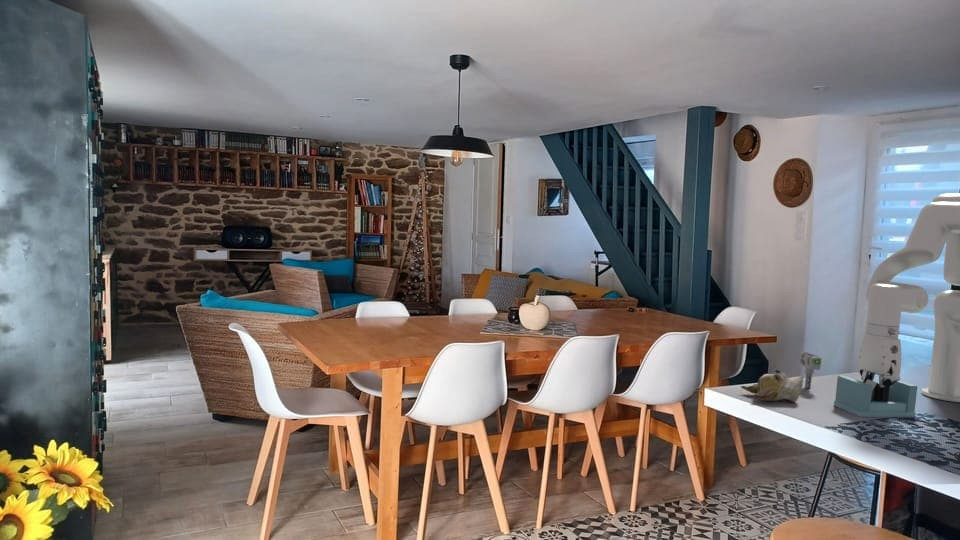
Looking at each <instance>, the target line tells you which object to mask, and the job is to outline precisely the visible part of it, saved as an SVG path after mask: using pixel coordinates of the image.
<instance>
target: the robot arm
mask: <svg viewBox="0 0 960 540" xmlns="http://www.w3.org/2000/svg"><path fill="white" fill-rule="evenodd" d="M944 247H945V250H944V262H943V278H944V280H945V282H946V283H947V284H949V285H952V286H958V287H960V193H959V192H957V193H956V192H955V193H943V194H940V195H937V196H935V197H934V198H933V199H932V201H931V202H930V203H927V204H926V205H924V206H923V207H922V209H921V210H920V212H919V213H918V216H917V219H916V220H915V223H914V225H913V227H912V230H911V231H910V234H909V236H908V238H907V240H906V243H905V245H904V246H903V247H902V248H901V249H899V250H897V251H895V252H894V253H892V254H891V255H889V256H888V257H887V258H885V259H884V260H883V261H881V263H880V264H879V265H877V267H876V268H875V269H874V271H873V273H872V275H871V278H870V280H869V283H868V284H867V288H866V291H865V300H866V301H867V311H866V314H867V315H866V320H865V322H866V323H865V331H864V334H863V337H862V340H861V344H860V350H859V355H858V362H857V363H856V365H855V367H856V369H857V371H859V375H860V377H861V378H860V379H861V382H864V383H865V382H866V381H867V379H868V380H871V381H874V379H875V376H878V384H879V386H880V387H877V392H876V401H877V402H888V397H889V388H891V387H892V385H893V384H894V383H895V382H897V381H899V380H901V376H900V375H901V369H902V344H901V339H900V338H899V335H900V326H901V325H900V324H901V315H902V313H908V314H909V313H910V314H916V313H920V312H921V311H923V310H925V308H926V307H927V305H928V303H929V295H928V293H927V291H926V289H924V288H923V287H921V286H920V285H917V284H909V283H902V282H895V281H894V282H893V281H892V280H893V279H894V278H895V277H896V276H898V275H899V274H901V273H902V272H905V271H907V270H911V269H914V268H918V267H922V266H925V265H928V264H933V263H935V262H936V261H938V260H939V258H940V257H941V255H942V252H943V249H944ZM933 312H934V313H933V314H934V333H933V334H934V336H933V343H932V352H931V353H932V354H931V363H930V371H929V376H928V377H929V379H928V386H927V387H923V388H921V391H920V392H921V394H922V395H924V396H927V397H928V398H932V399H937V400H939V401H940V400H941V401H947V402H952V403H960V290H957V289H956V290H953V289H949V290H943V291H941V292H939V293H937V295H936V296H935V298H934V301H933ZM884 378H886V380H885V381H884Z"/></svg>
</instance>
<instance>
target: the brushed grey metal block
mask: <svg viewBox="0 0 960 540" xmlns="http://www.w3.org/2000/svg"><path fill="white" fill-rule="evenodd" d="M865 383H867V384H870V385H872V393H871V402H877V401H876V392H877V387H880V386H879V382H877V381H874V380H873V381H871V380H868V379H867V381H866V382H865Z"/></svg>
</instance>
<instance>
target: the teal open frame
mask: <svg viewBox="0 0 960 540" xmlns="http://www.w3.org/2000/svg"><path fill="white" fill-rule="evenodd" d="M836 379H837V381H836V389H835V390H836V391H835V400H834V401H833V406H834V407H836V408H837V407H838V408H839V409H841V410H844V411H846V412H849V414H850V413H851V414H853V415H855V416H858V417H860V418H861V417H862V418H863V417H864V418H872V417H873V418H874V417H875V418H915V417H916V414H917V413H916V411H915V410H916V405H917V404H916V403H917V395H918V385H915V384H913V383H909V382H906V381H904V380H901V379H900V380H899V381H897V382H895V383H894V384H893V385H892V387H891V388H889V397H888V402H871V393H872V385H870V384H867V383H864V382H863V381H862V380H861V381H860V380H859V379H855V378H852V377H849V376H847V375H837V378H836ZM885 380H886V378H884V381H885Z"/></svg>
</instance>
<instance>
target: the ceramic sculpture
mask: <svg viewBox="0 0 960 540" xmlns="http://www.w3.org/2000/svg"><path fill="white" fill-rule="evenodd" d="M803 383H804V376H803V375H800V376H793V377H788V376H787V374H786V373H785V372H783V371H780V370H778V369H776V370H775V371H774V373H765V374H763V375H762V376H760V377H759V378H758V381H757V383H754V384H752V385H749V386H745V385H741V386H740V387H741V389H743V390H745V391H747V392H749V393H751V394H753V397H754V398H756V399H759V400H761V401H766V402H767V401H771V402H775V401H777V402H778V401H780V400H788V401H789V402H793V403H796V402H797V401H798V399H799V397H800V393H801V392H802V390H803Z"/></svg>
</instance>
